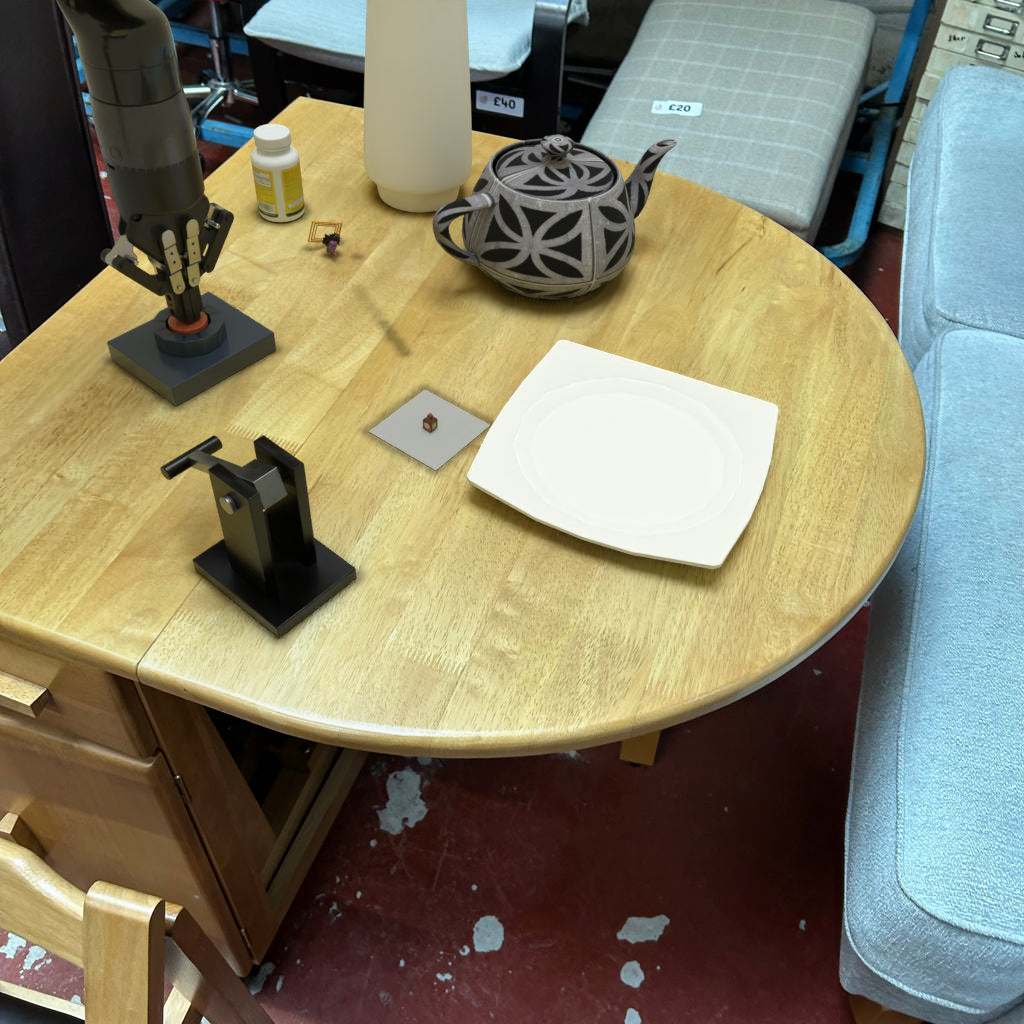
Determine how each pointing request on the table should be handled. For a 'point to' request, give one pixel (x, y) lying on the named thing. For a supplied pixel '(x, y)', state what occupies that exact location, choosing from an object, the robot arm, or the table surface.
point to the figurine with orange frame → (328, 240)
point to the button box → (192, 350)
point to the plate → (629, 456)
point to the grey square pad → (429, 429)
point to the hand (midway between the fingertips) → (187, 318)
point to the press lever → (252, 473)
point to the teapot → (551, 216)
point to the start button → (192, 328)
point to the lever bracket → (271, 547)
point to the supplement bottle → (277, 174)
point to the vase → (417, 102)
